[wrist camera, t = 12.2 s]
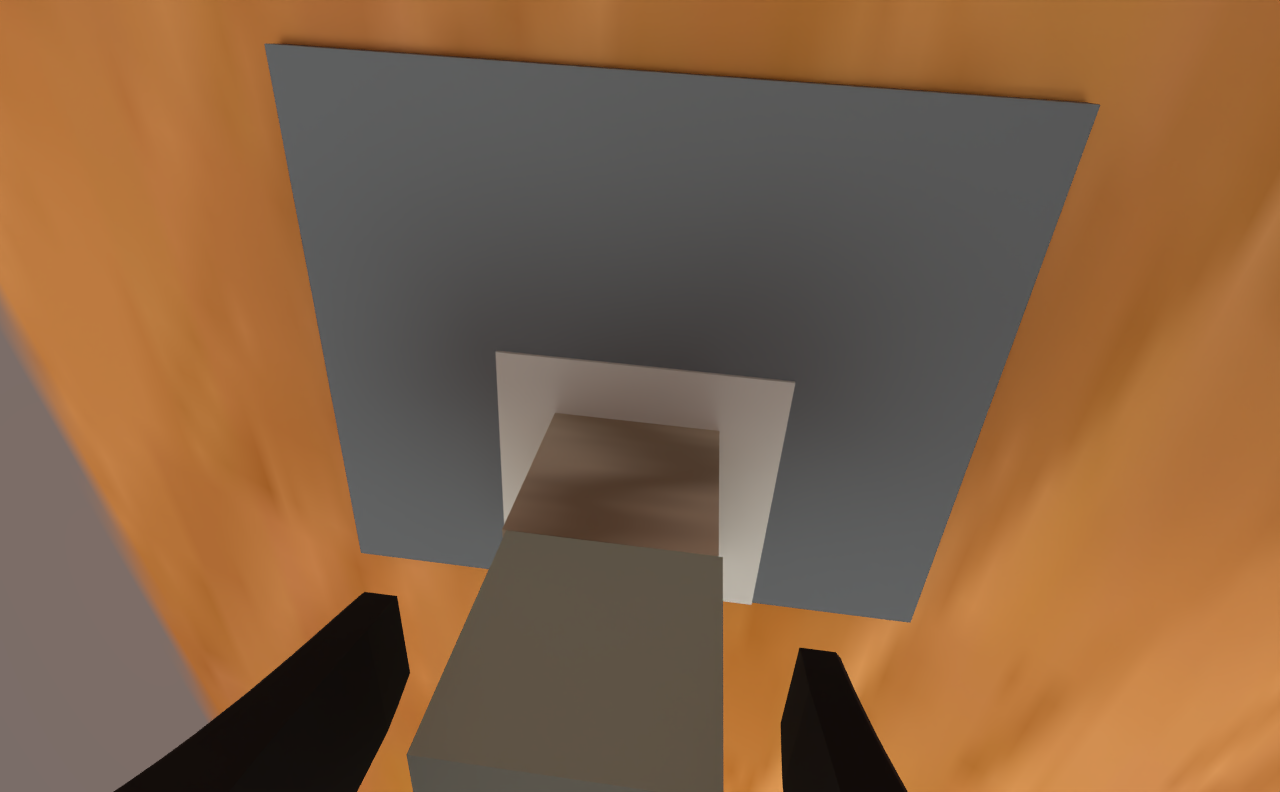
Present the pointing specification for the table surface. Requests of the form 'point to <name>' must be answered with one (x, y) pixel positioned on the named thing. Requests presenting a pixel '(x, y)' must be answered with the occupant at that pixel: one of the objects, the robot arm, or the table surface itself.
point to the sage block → (581, 675)
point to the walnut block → (623, 485)
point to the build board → (669, 293)
